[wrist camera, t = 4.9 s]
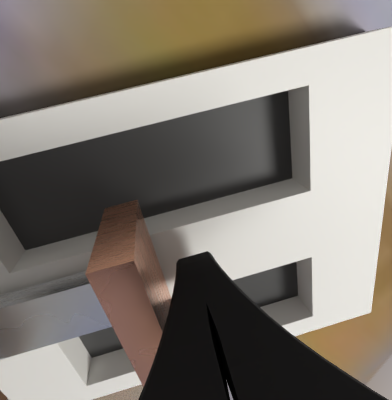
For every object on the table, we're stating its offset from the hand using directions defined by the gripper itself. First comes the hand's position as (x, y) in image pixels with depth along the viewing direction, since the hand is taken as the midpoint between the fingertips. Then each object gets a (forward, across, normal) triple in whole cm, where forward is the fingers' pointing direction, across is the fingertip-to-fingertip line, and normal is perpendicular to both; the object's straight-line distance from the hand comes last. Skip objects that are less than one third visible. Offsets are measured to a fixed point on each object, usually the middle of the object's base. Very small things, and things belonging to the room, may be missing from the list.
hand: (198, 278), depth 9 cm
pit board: (+2, +1, 0) cm, 3 cm away
